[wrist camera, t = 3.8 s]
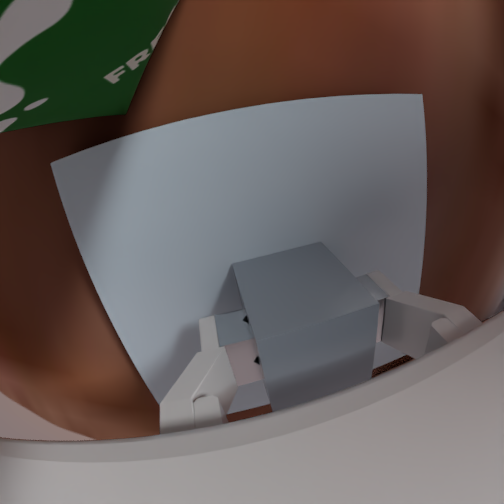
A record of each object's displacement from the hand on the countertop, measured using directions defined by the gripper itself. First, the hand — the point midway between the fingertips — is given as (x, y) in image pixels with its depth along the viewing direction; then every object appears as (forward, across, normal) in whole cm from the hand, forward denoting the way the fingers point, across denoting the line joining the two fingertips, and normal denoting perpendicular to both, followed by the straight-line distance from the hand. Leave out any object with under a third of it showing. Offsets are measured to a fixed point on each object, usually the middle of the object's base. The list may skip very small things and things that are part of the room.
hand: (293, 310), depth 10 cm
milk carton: (+3, +5, -12) cm, 13 cm away
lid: (+2, 0, 0) cm, 2 cm away
